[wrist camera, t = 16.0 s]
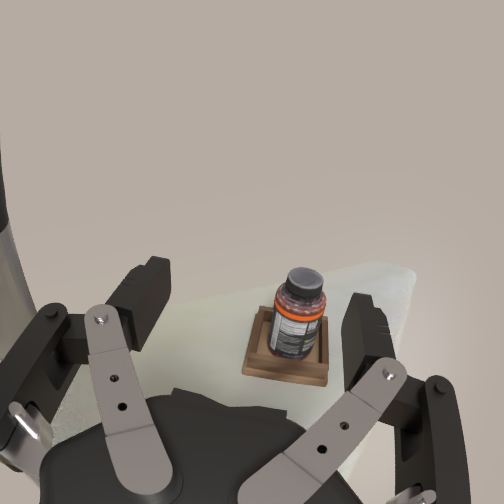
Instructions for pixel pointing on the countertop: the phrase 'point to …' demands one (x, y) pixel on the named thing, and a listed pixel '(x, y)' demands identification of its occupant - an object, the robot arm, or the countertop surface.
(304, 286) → the supplement bottle
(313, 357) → the square wooden tray
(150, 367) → the countertop surface
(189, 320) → the countertop surface
